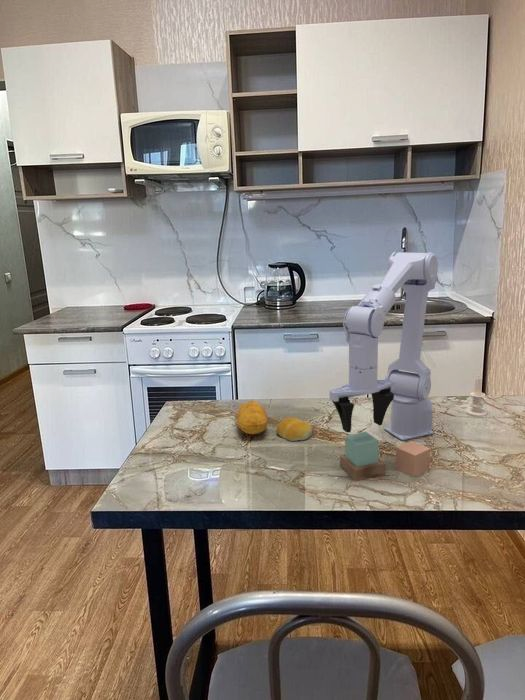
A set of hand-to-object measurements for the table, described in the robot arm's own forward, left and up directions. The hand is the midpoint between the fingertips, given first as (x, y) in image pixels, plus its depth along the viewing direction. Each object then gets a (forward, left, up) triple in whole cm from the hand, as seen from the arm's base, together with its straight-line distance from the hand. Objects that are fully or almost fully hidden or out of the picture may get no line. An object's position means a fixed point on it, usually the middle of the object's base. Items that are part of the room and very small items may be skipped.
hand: (362, 427), depth 109 cm
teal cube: (0, 0, -7) cm, 7 cm away
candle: (-44, -14, -10) cm, 47 cm away
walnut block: (0, 0, -10) cm, 10 cm away
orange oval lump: (+14, -30, -10) cm, 35 cm away
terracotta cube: (-10, +4, -10) cm, 15 cm away
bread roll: (+5, -23, -10) cm, 26 cm away
